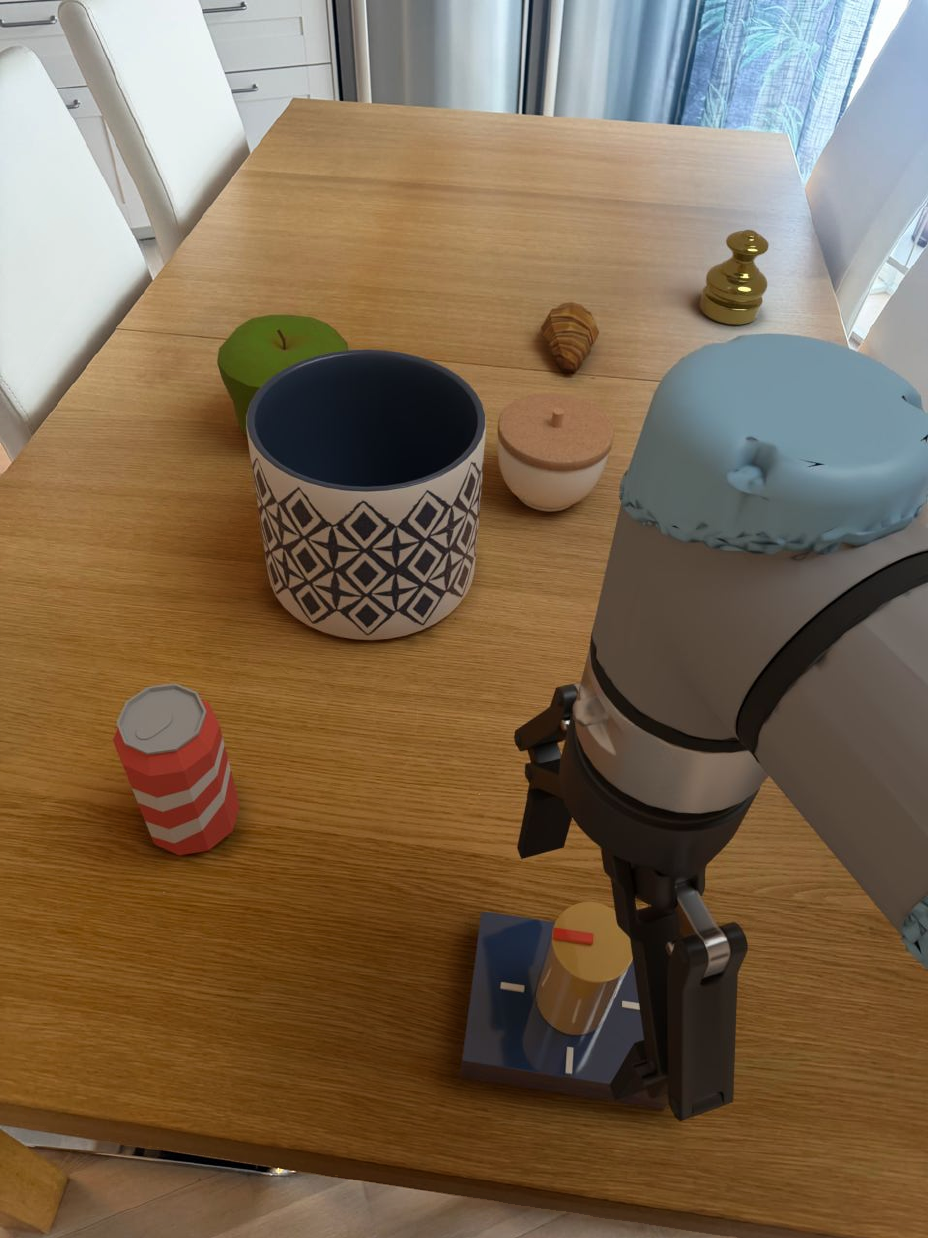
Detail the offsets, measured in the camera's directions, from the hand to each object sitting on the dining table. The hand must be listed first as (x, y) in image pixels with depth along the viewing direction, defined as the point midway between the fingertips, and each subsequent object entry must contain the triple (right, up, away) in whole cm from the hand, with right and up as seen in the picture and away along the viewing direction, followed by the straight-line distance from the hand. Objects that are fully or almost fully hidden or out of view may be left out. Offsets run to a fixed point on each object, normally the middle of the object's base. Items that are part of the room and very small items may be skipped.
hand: (584, 956), depth 51 cm
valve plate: (0, -6, +6) cm, 9 cm away
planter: (-15, +23, +32) cm, 42 cm away
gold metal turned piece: (+26, +57, +65) cm, 91 cm away
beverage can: (-25, +4, +14) cm, 29 cm away
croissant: (+6, +50, +58) cm, 77 cm away
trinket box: (+1, +31, +40) cm, 51 cm away
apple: (-24, +38, +45) cm, 64 cm away
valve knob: (0, -4, +4) cm, 5 cm away
